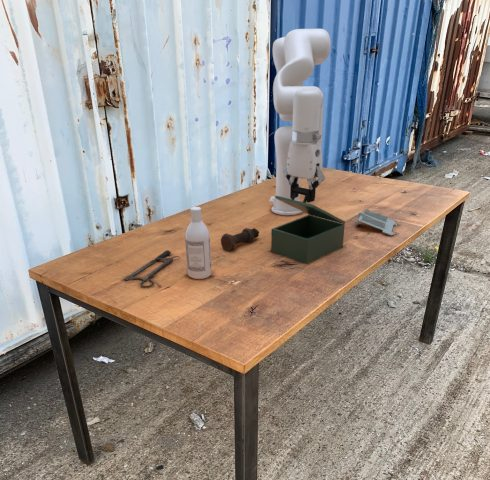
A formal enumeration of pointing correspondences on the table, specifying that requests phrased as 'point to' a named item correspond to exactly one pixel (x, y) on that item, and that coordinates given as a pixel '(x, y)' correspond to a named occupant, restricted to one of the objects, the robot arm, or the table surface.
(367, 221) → the metal bracket
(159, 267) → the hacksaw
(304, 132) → the robot arm
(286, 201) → the chest lid
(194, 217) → the bath foam
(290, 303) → the table surface
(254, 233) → the bolt
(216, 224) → the table surface
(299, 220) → the parts chest
